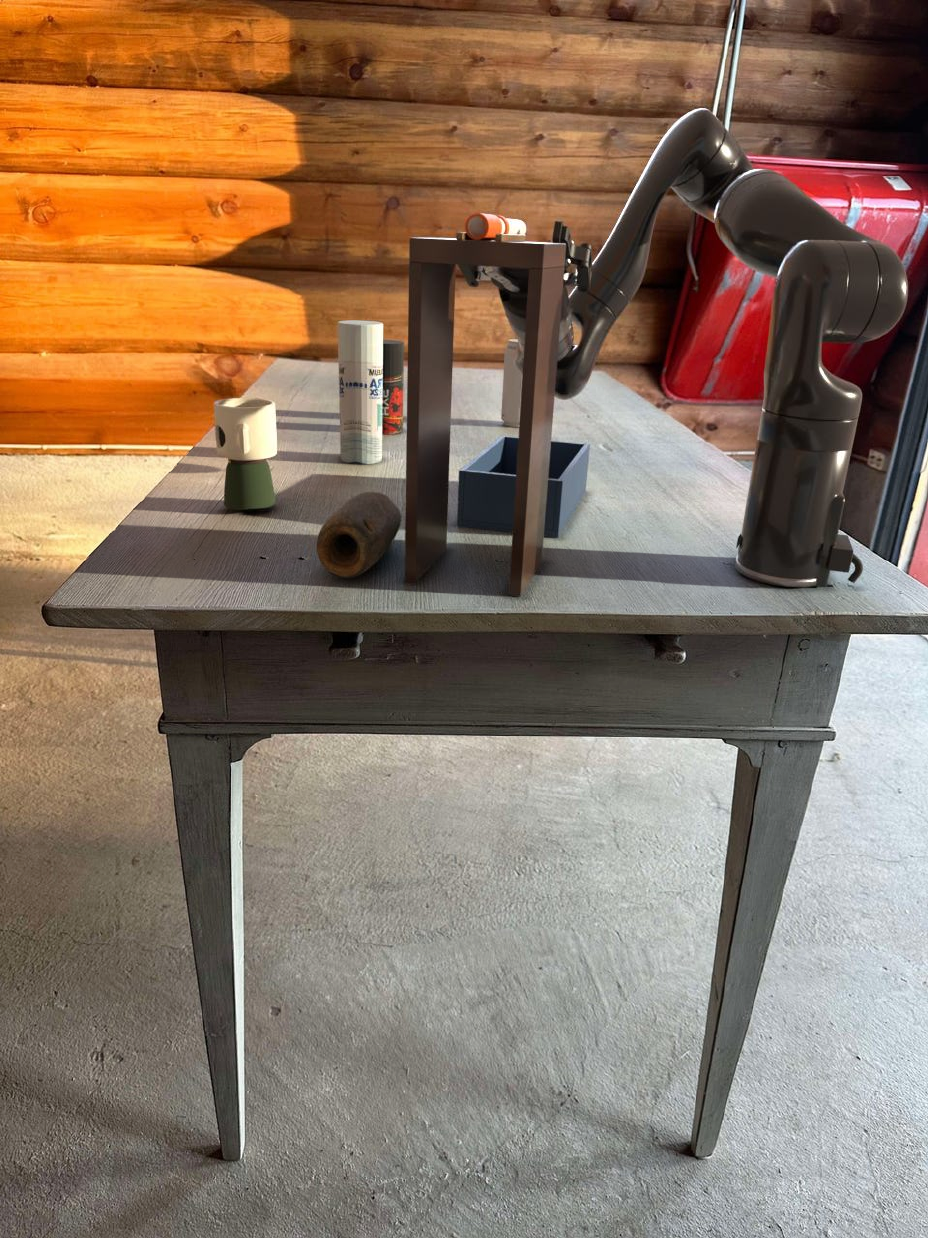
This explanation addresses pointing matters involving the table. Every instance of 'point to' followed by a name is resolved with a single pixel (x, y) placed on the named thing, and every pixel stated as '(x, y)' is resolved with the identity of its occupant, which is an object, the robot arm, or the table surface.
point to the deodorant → (392, 387)
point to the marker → (492, 226)
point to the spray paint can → (360, 390)
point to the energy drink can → (511, 387)
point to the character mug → (246, 450)
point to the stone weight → (358, 534)
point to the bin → (494, 481)
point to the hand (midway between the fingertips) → (515, 227)
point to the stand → (434, 391)
